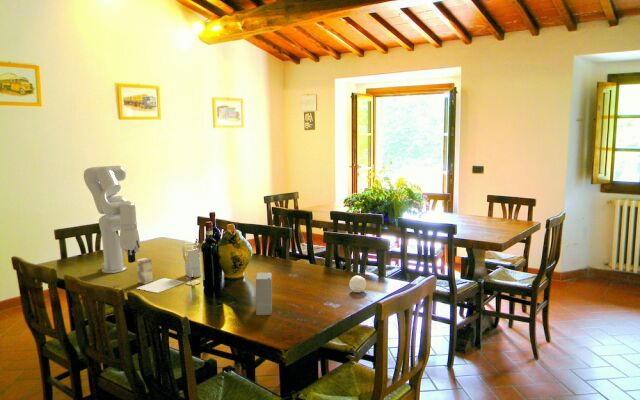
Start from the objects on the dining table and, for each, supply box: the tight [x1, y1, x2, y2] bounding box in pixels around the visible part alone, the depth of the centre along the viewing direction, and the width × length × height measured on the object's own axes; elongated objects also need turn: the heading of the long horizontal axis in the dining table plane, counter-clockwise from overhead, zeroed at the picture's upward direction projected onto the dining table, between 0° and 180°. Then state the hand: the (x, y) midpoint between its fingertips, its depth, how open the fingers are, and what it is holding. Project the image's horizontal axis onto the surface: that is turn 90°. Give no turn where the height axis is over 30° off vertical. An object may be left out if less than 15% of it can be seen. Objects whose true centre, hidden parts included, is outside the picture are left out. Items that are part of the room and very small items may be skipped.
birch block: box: [135, 257, 154, 285], centre depth 239 cm, size 5×5×12 cm
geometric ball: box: [348, 275, 367, 294], centre depth 218 cm, size 8×8×8 cm
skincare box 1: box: [183, 247, 202, 278], centre depth 248 cm, size 8×6×15 cm
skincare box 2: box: [255, 272, 273, 316], centre depth 196 cm, size 8×7×16 cm
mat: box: [135, 277, 186, 294], centre depth 234 cm, size 15×18×1 cm
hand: (131, 262), depth 243 cm, fingers closed
